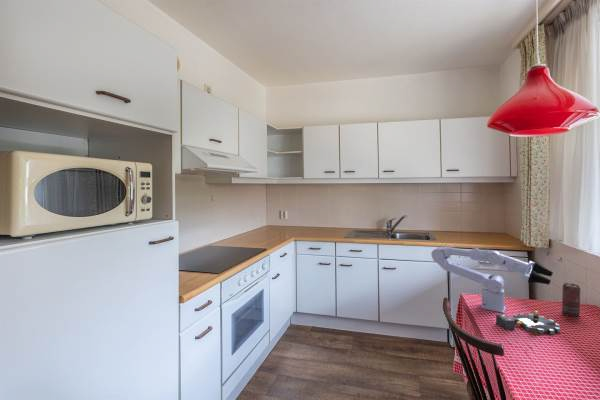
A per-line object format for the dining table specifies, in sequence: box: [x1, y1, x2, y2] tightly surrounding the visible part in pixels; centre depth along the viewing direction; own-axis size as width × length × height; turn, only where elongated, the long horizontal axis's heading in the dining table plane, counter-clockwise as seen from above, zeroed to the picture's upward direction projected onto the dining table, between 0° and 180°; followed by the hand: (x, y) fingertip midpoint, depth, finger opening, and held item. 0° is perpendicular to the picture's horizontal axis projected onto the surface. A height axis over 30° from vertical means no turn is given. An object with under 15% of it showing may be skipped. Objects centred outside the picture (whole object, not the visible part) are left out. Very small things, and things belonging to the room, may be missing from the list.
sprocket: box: [512, 310, 561, 335], centre depth 132 cm, size 16×16×4 cm
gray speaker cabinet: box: [495, 313, 516, 331], centre depth 131 cm, size 6×4×4 cm, turn 0°
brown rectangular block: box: [530, 327, 538, 336], centre depth 124 cm, size 2×1×3 cm, turn 50°
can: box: [561, 282, 581, 318], centre depth 141 cm, size 6×6×14 cm
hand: (551, 278), depth 135 cm, fingers open, 7 cm apart
